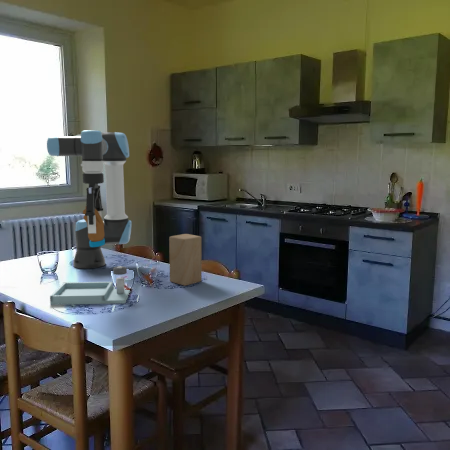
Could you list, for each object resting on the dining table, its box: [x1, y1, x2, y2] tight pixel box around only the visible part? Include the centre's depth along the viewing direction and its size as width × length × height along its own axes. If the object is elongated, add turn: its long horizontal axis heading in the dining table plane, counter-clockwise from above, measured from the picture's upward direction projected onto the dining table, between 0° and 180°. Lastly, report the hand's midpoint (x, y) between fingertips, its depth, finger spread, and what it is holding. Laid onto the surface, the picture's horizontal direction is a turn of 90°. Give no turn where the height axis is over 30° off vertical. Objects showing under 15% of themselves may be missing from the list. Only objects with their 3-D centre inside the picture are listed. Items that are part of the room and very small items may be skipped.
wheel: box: [112, 265, 127, 276], centre depth 175 cm, size 5×5×2 cm
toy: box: [82, 206, 106, 247], centre depth 172 cm, size 12×7×15 cm, turn 170°
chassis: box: [49, 277, 131, 306], centre depth 175 cm, size 18×27×7 cm, turn 94°
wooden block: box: [168, 233, 203, 286], centre depth 195 cm, size 10×10×20 cm
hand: (95, 230), depth 172 cm, fingers closed on toy, 11 cm apart
